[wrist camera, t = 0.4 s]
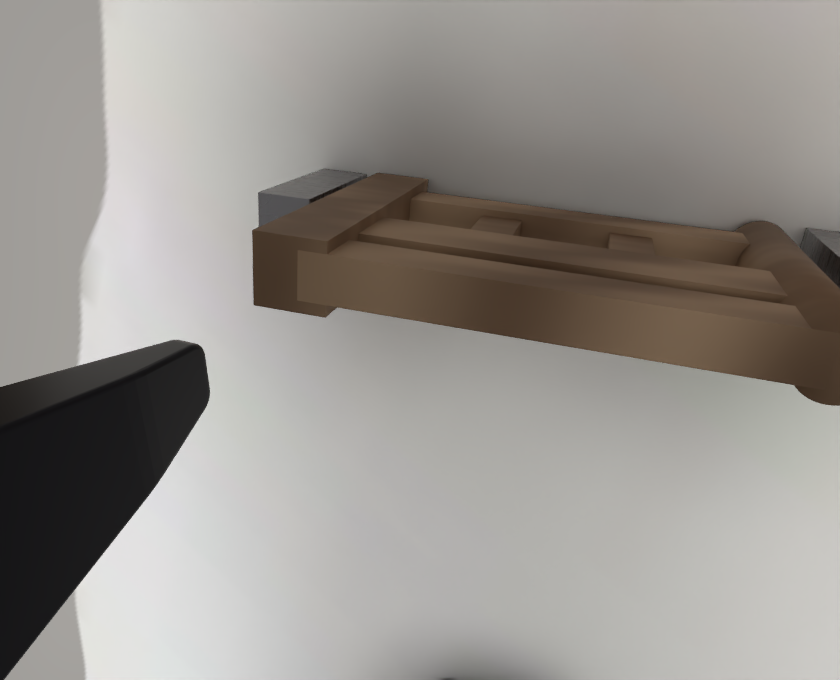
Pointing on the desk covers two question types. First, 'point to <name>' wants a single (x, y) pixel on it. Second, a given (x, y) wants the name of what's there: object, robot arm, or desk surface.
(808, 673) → the desk surface
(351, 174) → the dark grey square post
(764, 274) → the walnut gate
